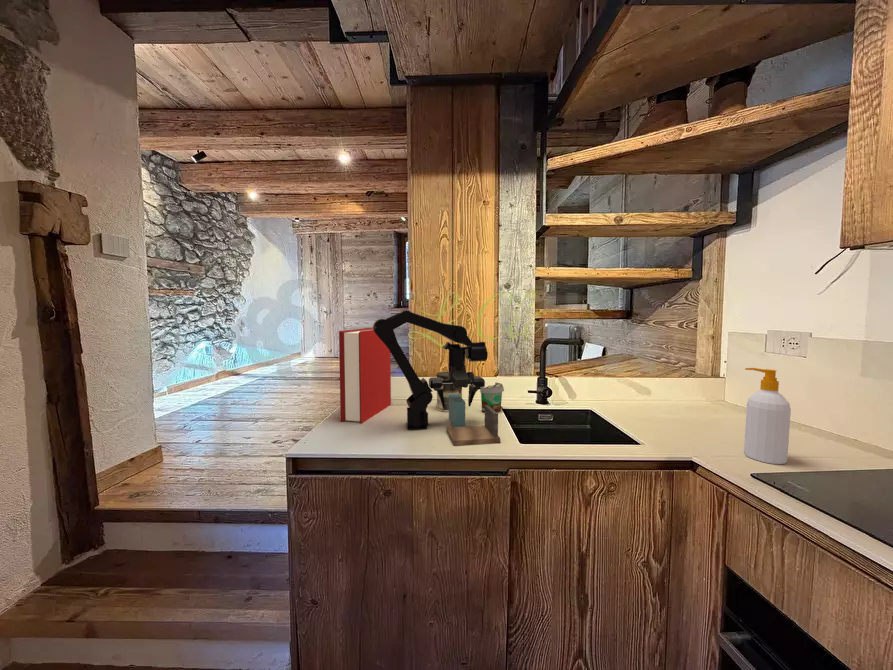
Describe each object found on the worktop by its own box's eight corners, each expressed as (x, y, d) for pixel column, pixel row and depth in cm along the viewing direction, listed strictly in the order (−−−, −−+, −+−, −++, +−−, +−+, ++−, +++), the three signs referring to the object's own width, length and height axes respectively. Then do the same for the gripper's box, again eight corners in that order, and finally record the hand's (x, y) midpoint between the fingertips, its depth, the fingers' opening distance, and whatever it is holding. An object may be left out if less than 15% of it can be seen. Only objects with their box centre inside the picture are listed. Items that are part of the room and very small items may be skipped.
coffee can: (467, 407, 144) (467, 373, 143) (453, 413, 135) (453, 377, 134) (445, 403, 149) (445, 370, 148) (431, 409, 141) (431, 374, 140)
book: (361, 423, 123) (360, 331, 121) (340, 422, 125) (338, 330, 122) (392, 403, 149) (391, 327, 147) (374, 402, 151) (373, 327, 149)
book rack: (453, 445, 103) (453, 417, 102) (446, 432, 115) (446, 406, 114) (500, 442, 105) (500, 414, 105) (488, 429, 117) (488, 404, 116)
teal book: (454, 429, 118) (454, 402, 117) (448, 419, 128) (448, 394, 128) (465, 428, 118) (465, 401, 118) (458, 418, 129) (458, 394, 128)
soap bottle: (741, 448, 102) (746, 365, 100) (787, 457, 95) (793, 369, 93) (738, 457, 95) (743, 369, 94) (787, 467, 89) (793, 373, 87)
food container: (493, 415, 132) (494, 389, 132) (479, 412, 136) (480, 387, 135) (509, 408, 142) (509, 383, 142) (495, 406, 146) (496, 382, 145)
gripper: (433, 366, 112) (432, 414, 113) (489, 365, 116) (489, 412, 117) (428, 361, 123) (428, 405, 124) (480, 360, 126) (480, 403, 128)
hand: (456, 406), depth 123 cm, fingers open, 9 cm apart
